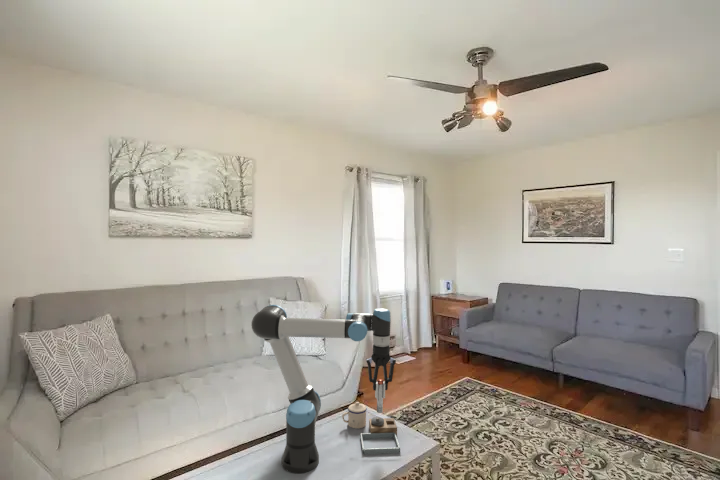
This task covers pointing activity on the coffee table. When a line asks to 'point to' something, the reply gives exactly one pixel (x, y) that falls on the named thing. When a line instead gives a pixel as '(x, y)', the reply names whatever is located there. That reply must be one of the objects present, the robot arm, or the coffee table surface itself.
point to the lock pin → (380, 396)
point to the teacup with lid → (356, 415)
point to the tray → (379, 450)
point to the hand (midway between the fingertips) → (380, 397)
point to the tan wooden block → (382, 425)
